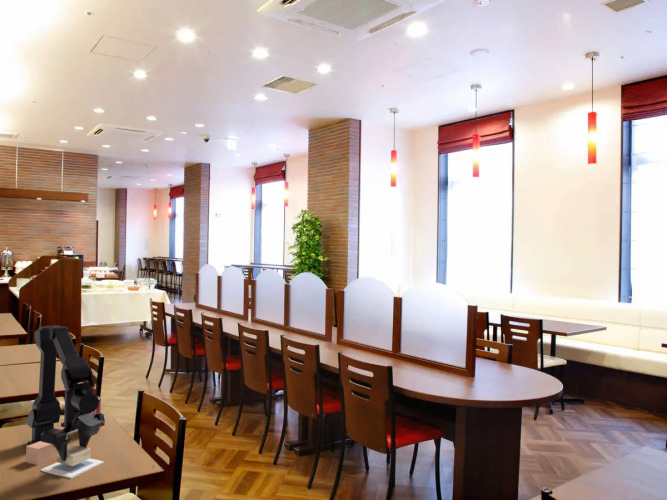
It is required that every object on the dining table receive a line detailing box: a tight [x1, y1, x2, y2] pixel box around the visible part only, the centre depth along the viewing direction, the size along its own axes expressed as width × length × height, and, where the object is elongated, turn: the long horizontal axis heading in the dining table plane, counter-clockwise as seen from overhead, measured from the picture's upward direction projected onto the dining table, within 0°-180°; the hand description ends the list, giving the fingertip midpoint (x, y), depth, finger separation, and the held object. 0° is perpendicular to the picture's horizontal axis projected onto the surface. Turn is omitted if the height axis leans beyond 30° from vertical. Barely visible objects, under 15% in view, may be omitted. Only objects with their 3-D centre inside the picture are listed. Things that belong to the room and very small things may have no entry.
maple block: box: [55, 444, 91, 466], centre depth 155 cm, size 6×6×3 cm
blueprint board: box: [40, 457, 105, 479], centre depth 155 cm, size 12×12×1 cm
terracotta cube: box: [25, 441, 54, 466], centre depth 159 cm, size 5×5×5 cm
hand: (73, 456), depth 155 cm, fingers closed on maple block, 6 cm apart
